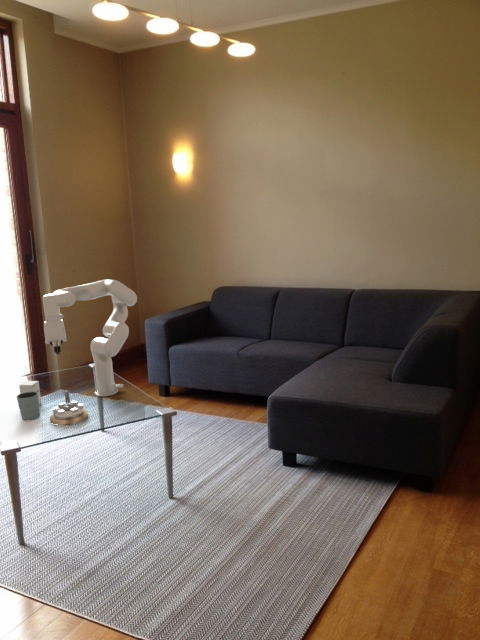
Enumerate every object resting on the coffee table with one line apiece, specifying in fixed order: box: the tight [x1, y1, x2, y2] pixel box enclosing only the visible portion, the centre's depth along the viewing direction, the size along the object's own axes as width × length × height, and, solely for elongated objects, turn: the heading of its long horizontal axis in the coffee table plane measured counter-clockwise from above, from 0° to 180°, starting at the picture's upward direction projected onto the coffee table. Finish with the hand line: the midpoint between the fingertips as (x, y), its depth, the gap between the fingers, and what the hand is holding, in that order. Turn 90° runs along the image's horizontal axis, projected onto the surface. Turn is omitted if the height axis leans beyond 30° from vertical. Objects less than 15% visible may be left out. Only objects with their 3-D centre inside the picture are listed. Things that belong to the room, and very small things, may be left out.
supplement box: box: [18, 380, 42, 405], centre depth 306 cm, size 7×7×13 cm
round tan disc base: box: [49, 408, 89, 426], centre depth 285 cm, size 18×18×3 cm
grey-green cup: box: [16, 392, 41, 421], centre depth 289 cm, size 10×10×12 cm
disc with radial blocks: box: [52, 389, 84, 420], centre depth 283 cm, size 14×14×10 cm
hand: (57, 353), depth 295 cm, fingers closed
